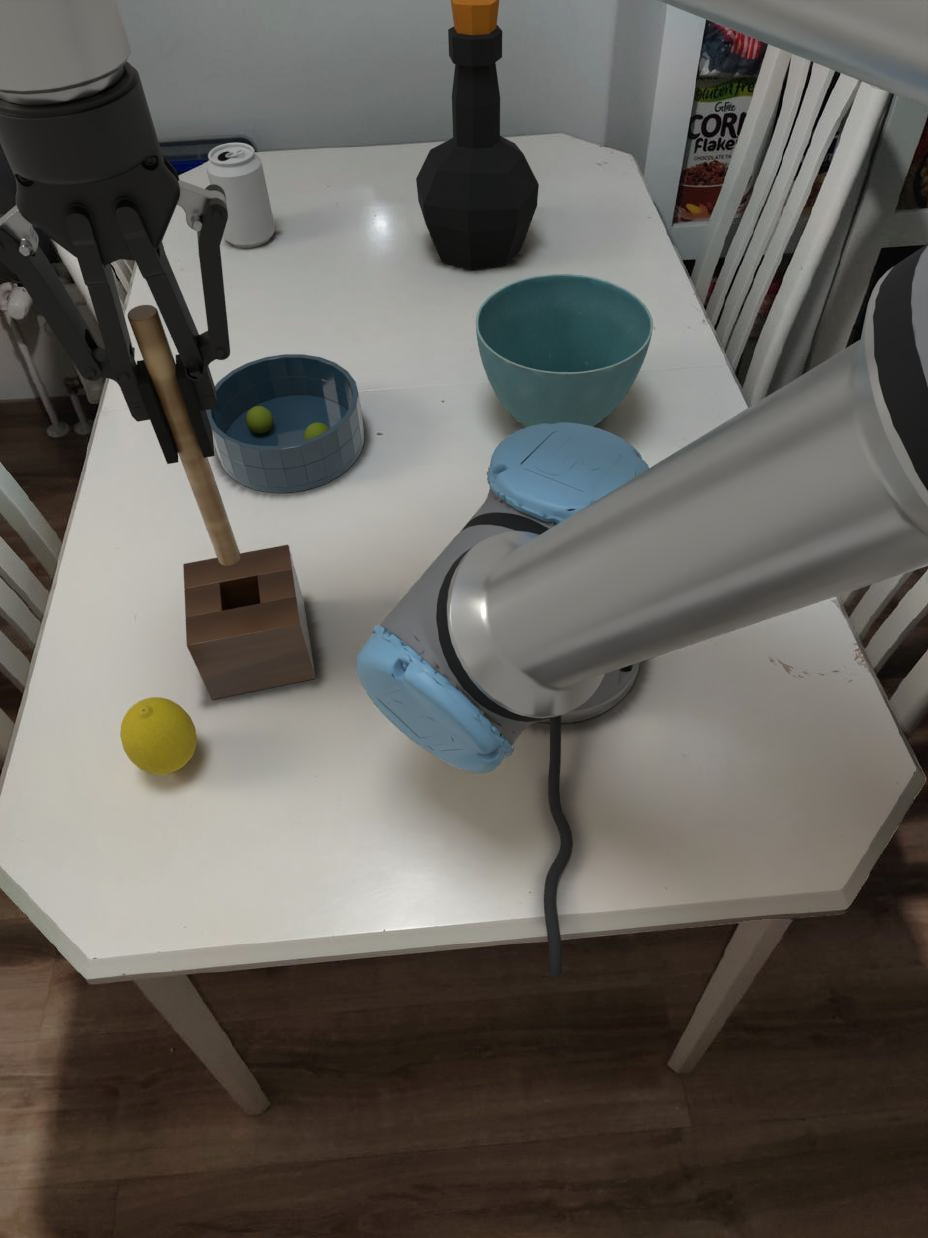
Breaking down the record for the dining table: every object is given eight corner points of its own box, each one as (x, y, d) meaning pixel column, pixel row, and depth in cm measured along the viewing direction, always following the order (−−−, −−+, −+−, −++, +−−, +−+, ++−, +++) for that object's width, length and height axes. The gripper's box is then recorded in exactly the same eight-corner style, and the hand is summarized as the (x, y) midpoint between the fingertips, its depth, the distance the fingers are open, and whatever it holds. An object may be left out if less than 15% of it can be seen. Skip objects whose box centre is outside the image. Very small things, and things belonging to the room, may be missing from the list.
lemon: (126, 770, 72) (91, 719, 66) (174, 721, 75) (145, 668, 69) (173, 803, 70) (142, 754, 64) (221, 752, 73) (195, 700, 67)
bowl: (375, 478, 93) (369, 434, 89) (223, 504, 91) (209, 461, 87) (352, 387, 103) (346, 344, 98) (215, 410, 101) (201, 366, 96)
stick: (241, 564, 69) (157, 318, 52) (219, 568, 69) (126, 322, 52) (240, 547, 70) (157, 301, 53) (217, 552, 70) (127, 306, 53)
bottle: (430, 217, 128) (416, -28, 104) (541, 223, 126) (553, -25, 103) (409, 275, 118) (389, 19, 95) (529, 282, 116) (539, 23, 93)
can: (230, 224, 128) (209, 138, 119) (280, 224, 128) (263, 138, 118) (219, 250, 124) (196, 163, 114) (271, 250, 123) (253, 163, 114)
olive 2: (335, 453, 95) (331, 431, 92) (308, 458, 94) (303, 436, 92) (332, 436, 97) (328, 414, 94) (305, 440, 96) (300, 419, 94)
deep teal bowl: (448, 398, 101) (444, 303, 92) (578, 350, 107) (587, 255, 97) (531, 490, 92) (536, 395, 82) (669, 432, 97) (689, 336, 87)
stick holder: (315, 678, 77) (300, 623, 71) (211, 700, 76) (186, 645, 70) (303, 601, 83) (288, 544, 77) (206, 620, 82) (182, 563, 75)
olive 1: (276, 436, 97) (271, 415, 94) (249, 441, 96) (243, 419, 94) (274, 420, 99) (269, 398, 96) (247, 424, 98) (241, 402, 96)
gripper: (206, 28, 45) (290, 397, 64) (-91, 62, 44) (83, 432, 62) (214, 83, 41) (302, 463, 59) (-117, 123, 39) (79, 502, 58)
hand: (190, 447), depth 61 cm, fingers closed on stick, 2 cm apart
